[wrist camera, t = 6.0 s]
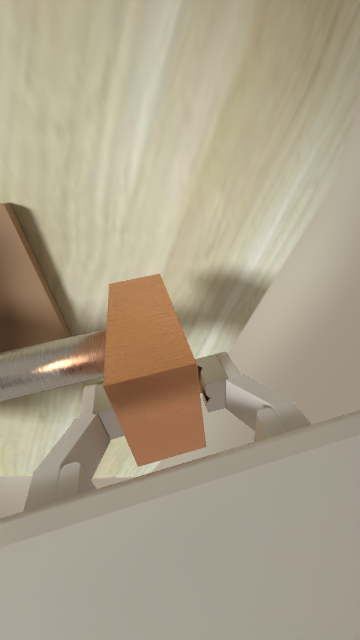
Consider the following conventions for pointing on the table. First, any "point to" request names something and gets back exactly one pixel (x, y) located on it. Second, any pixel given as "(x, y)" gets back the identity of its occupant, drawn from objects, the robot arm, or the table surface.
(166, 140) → the table surface
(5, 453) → the table surface
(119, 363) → the shaft
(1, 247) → the block
